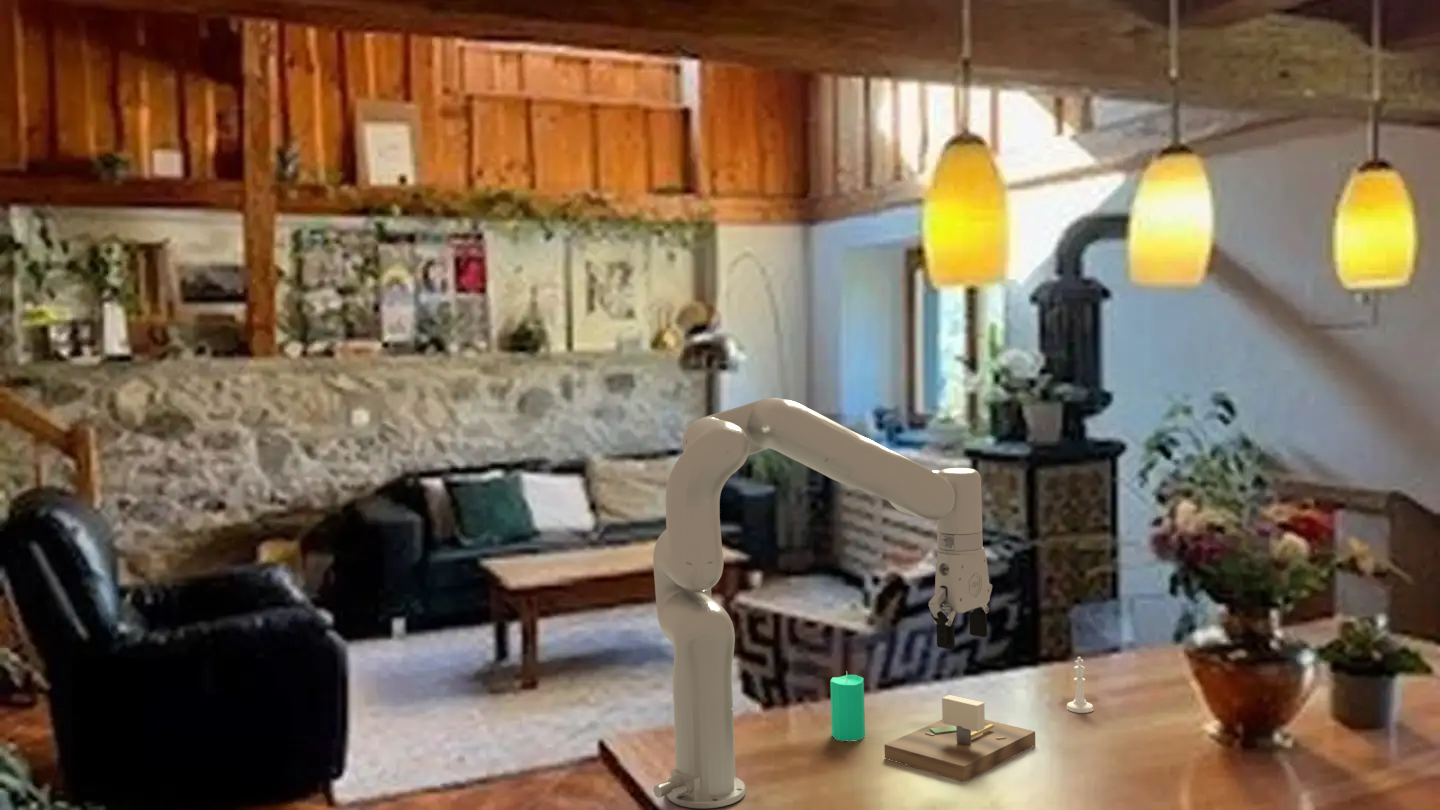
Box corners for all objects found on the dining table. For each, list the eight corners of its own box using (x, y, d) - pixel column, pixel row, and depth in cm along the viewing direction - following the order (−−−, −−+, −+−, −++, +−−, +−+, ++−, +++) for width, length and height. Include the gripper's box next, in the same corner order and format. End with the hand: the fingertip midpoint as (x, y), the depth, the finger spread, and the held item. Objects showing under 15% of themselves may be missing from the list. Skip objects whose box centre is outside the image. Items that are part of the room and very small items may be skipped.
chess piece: (1060, 707, 232) (1060, 656, 232) (1081, 703, 234) (1080, 652, 234) (1078, 714, 228) (1077, 662, 227) (1099, 710, 230) (1098, 658, 229)
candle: (864, 730, 223) (863, 666, 222) (865, 742, 217) (863, 675, 216) (831, 730, 223) (830, 666, 222) (831, 741, 217) (829, 675, 217)
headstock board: (964, 781, 197) (963, 764, 196) (884, 758, 208) (884, 742, 208) (1035, 745, 212) (1035, 729, 212) (957, 726, 223) (957, 711, 223)
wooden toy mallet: (977, 748, 204) (976, 706, 203) (942, 739, 209) (941, 697, 208) (1009, 732, 211) (1008, 692, 210) (975, 724, 216) (974, 684, 215)
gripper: (949, 552, 196) (951, 656, 197) (1007, 536, 208) (1009, 634, 209) (911, 547, 201) (914, 649, 203) (969, 532, 214) (972, 628, 215)
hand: (962, 641), depth 206 cm, fingers open, 9 cm apart
